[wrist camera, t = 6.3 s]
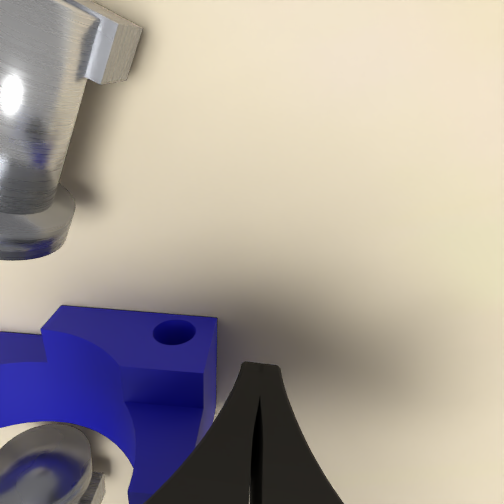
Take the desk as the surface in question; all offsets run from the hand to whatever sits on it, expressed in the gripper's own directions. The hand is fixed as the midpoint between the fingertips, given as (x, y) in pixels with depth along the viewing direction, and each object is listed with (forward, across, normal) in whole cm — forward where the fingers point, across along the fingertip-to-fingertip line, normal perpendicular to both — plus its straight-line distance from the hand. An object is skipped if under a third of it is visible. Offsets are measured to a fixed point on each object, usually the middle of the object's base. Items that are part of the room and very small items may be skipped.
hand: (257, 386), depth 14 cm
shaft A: (+2, +8, +7) cm, 11 cm away
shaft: (+2, +7, -8) cm, 11 cm away
